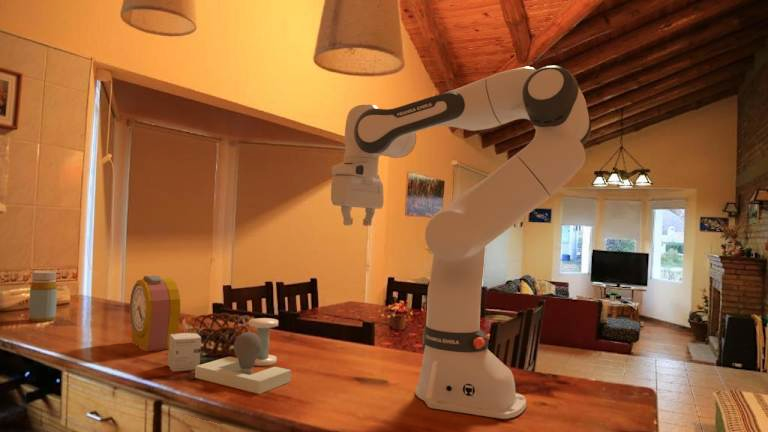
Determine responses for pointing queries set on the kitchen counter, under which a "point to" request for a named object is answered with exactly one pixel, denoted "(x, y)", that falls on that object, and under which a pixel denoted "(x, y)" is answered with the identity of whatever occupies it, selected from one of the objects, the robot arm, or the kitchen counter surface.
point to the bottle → (43, 296)
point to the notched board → (242, 375)
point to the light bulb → (247, 351)
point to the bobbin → (264, 340)
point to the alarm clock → (154, 312)
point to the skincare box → (184, 351)
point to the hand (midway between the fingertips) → (357, 225)
